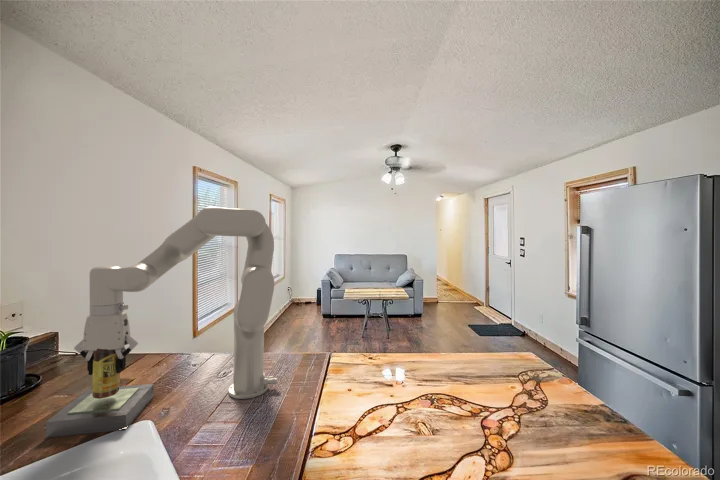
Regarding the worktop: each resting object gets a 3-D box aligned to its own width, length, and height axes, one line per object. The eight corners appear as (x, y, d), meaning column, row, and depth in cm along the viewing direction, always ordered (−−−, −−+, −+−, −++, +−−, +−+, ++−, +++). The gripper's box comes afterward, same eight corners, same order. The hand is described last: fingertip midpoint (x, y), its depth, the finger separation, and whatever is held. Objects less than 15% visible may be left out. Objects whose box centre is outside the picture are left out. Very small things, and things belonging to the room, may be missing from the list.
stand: (153, 396, 104) (153, 382, 104) (126, 429, 86) (126, 413, 86) (88, 401, 100) (88, 387, 100) (45, 437, 82) (45, 420, 82)
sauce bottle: (104, 401, 89) (103, 329, 89) (86, 398, 90) (85, 327, 90) (126, 389, 96) (125, 322, 95) (108, 387, 97) (108, 321, 96)
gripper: (146, 305, 98) (146, 364, 98) (79, 307, 94) (80, 369, 95) (134, 311, 91) (134, 375, 91) (62, 314, 87) (62, 380, 87)
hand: (106, 371), depth 93 cm, fingers closed on sauce bottle, 6 cm apart
